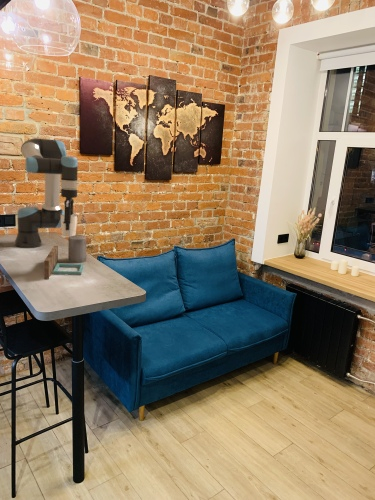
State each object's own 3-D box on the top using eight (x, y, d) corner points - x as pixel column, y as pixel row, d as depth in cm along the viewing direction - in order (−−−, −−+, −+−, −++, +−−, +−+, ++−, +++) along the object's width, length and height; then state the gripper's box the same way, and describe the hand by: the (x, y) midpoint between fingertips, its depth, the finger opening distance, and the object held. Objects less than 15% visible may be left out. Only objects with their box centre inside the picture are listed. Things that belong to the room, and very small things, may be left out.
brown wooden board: (48, 279, 177) (48, 261, 174) (44, 278, 176) (44, 260, 174) (57, 261, 203) (57, 246, 201) (54, 261, 203) (54, 245, 200)
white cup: (80, 234, 189) (80, 215, 186) (70, 237, 182) (70, 217, 179) (67, 232, 191) (67, 213, 189) (57, 235, 184) (57, 215, 181)
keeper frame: (81, 274, 186) (81, 272, 186) (53, 274, 184) (53, 271, 183) (83, 266, 199) (83, 264, 199) (57, 265, 196) (57, 263, 196)
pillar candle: (73, 256, 215) (73, 231, 211) (89, 259, 213) (89, 233, 209) (65, 261, 205) (64, 235, 201) (81, 263, 204) (81, 237, 200)
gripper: (74, 191, 172) (74, 239, 177) (79, 187, 191) (78, 230, 197) (57, 190, 170) (57, 238, 176) (64, 186, 190) (63, 229, 195)
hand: (68, 234), depth 186 cm, fingers closed on white cup, 7 cm apart
